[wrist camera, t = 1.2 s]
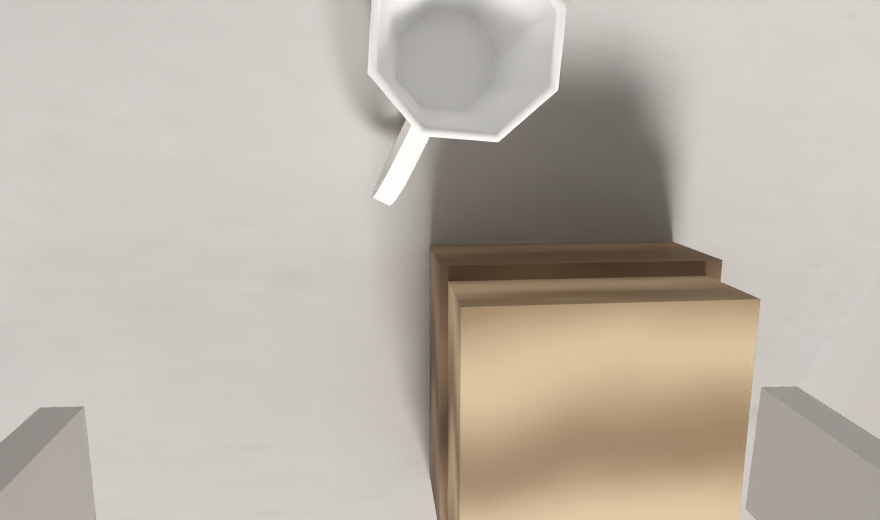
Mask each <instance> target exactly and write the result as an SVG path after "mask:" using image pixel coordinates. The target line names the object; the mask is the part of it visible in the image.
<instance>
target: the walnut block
mask: <svg viewBox="0 0 880 520" xmlns="http://www.w3.org/2000/svg"><path fill="white" fill-rule="evenodd" d="M721 269H722V260H720V259H718V258H715V257H712V256H710V255H707V254H704V253H701V252H699V251H696V250H693V249H691V248H688V247H685V246H683V245H680V244H677V243H675V242H635V243H575V244H514V245H454V246H430V479H431V485H432V491H433V497H434V503H435V508H436V514H437V520H447V459H448V281H488V280H532V279H577V278H622V277H666V276H708V277H710V278H713V279H715V280H717V281H721Z"/></svg>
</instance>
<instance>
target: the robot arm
mask: <svg viewBox="0 0 880 520" xmlns="http://www.w3.org/2000/svg"><path fill="white" fill-rule="evenodd" d="M746 510H747V511H748V512H749V513H750V514H751V515H752V516H753V517H754V518H755V519H756V520H880V440H879V439H877V438H876V437H875V436H873V435H872V434H870V433H869V432H867V431H865V430H864V429H862V428H861V427H859V426H858V425H856V424H854V423H853V422H851V421H850V420H848V419H847V418H845V417H844V416H842V415H840V414H839V413H837V412H835V411H834V410H832V409H831V408H829V407H828V406H826V405H825V404H823V403H822V402H820V401H819V400H817V399H815V398H814V397H812V396H811V395H809V394H808V393H806V392H804V391H803V390H801V389H800V388H798V387H761V394H760V402H759V410H758V417H757V425H756V433H755V440H754V448H753V456H752V463H751V472H750V479H749V486H748V494H747V502H746ZM0 520H96V512H95V503H94V494H93V484H92V475H91V466H90V457H89V447H88V438H87V429H86V419H85V410H84V407H50V408H39V409H38V410H37V411H36V412H35V413H33V414H32V415H31V416H30V417H29V418H28V419H27V420H26V421H24V422H23V423H22V424H21V425H20V426H19V427H18V428H17V429H15V430H14V431H13V432H12V433H11V434H10V435H9V436H8V437H7V438H5V439H4V440H3V441H2V442H1V443H0Z"/></svg>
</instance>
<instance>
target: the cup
mask: <svg viewBox="0 0 880 520" xmlns="http://www.w3.org/2000/svg"><path fill="white" fill-rule="evenodd" d="M566 13H567V7H566V5H565V4H564V3H563V1H562V0H371V16H370V34H369V51H368V69H367V73H368V74H369V76H370V77H371V78H372V79H373V80H374V82H375V83H376V84H377V85H378V86H379V87H380V89H381V90H382V91H383V92H384V93H385V95H386V96H387V97H388V98H389V99H390V101H391V102H392V103H393V104H394V105H395V106H396V108H397V109H398V110H399V111H400V112H401V114H402V115H403V116H404V117H405V118H406V120H405V122H404V125H403V127H402V129H401V131H400V133H399V135H398V137H397V140H396V142H395V144H394V146H393V148H392V150H391V153H390V155H389V157H388V159H387V161H386V164H385V166H384V168H383V170H382V173H381V175H380V177H379V179H378V182H377V184H376V186H375V189H374V192H373V194H372V197H373V198H375V199H377V200H379V201H381V202H383V203H385V204H387V205H389V206H390V205H392V204H393V203H394V202H395V200H396V199H397V197H398V196H399V194H400V192H401V191H402V189H403V188H404V186H405V184H406V182H407V180H408V179H409V177H410V175H411V173H412V171H413V169H414V167H415V165H416V163H417V161H418V159H419V157H420V155H421V153H422V151H423V150H424V147H425V145H426V143H427V141H428V139H429V137H440V138H453V139H465V140H478V141H490V142H499V141H500V140H501V139H502V138H504V137H505V136H506V135H507V134H508V133H509V132H510V131H512V130H513V129H514V128H515V127H516V126H517V125H519V124H520V123H521V122H522V121H523V120H524V119H525V118H527V117H528V116H529V115H530V114H531V113H532V112H534V111H535V110H536V109H537V108H538V107H539V106H540V105H542V104H543V103H544V102H545V101H546V100H547V99H548V98H550V97H551V96H552V95H553V94H554V93H555V92H557V91H558V87H559V77H560V68H561V59H562V50H563V40H564V31H565V22H566Z"/></svg>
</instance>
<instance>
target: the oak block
mask: <svg viewBox="0 0 880 520" xmlns="http://www.w3.org/2000/svg"><path fill="white" fill-rule="evenodd" d="M759 307H760V299H759V298H756V297H754V296H752V295H749V294H747V293H745V292H743V291H740V290H738V289H736V288H733V287H731V286H729V285H726V284H724V283H722V282H720V281H717V280H715V279H713V278H710V277H708V276H666V277H622V278H577V279H532V280H488V281H448V459H447V520H739V512H740V502H741V492H742V482H743V472H744V461H745V451H746V441H747V430H748V420H749V410H750V400H751V389H752V379H753V369H754V358H755V348H756V338H757V328H758V317H759Z"/></svg>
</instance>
